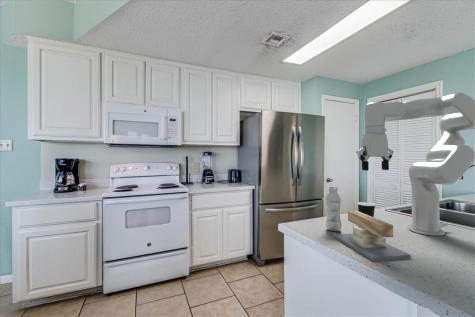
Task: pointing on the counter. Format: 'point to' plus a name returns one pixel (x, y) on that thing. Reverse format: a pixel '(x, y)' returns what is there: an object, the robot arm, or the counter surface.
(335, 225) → the plastic bottle
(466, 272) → the counter surface
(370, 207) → the dixie cup
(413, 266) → the counter surface
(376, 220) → the oak bar
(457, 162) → the robot arm
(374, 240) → the stepped block
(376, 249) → the slate board
